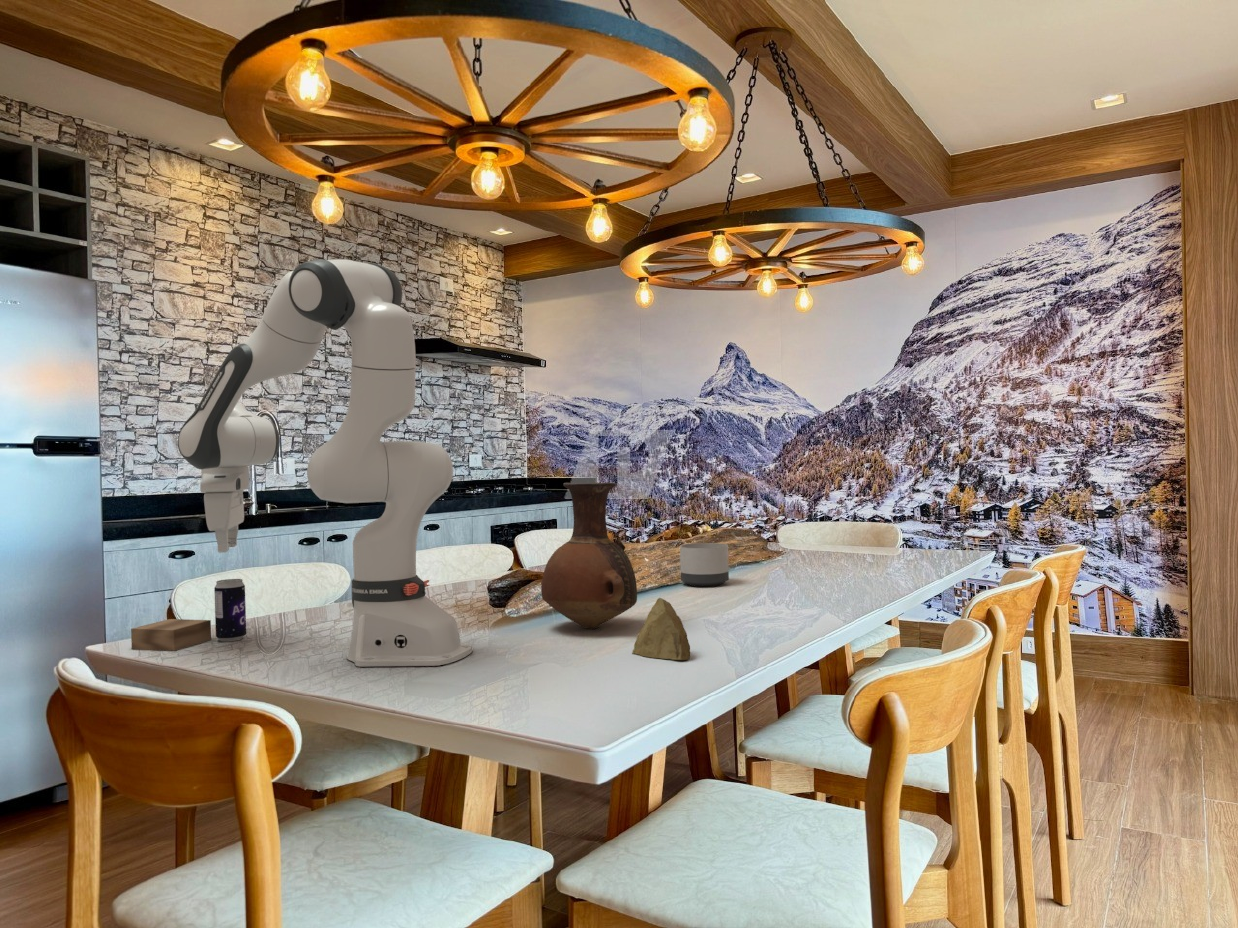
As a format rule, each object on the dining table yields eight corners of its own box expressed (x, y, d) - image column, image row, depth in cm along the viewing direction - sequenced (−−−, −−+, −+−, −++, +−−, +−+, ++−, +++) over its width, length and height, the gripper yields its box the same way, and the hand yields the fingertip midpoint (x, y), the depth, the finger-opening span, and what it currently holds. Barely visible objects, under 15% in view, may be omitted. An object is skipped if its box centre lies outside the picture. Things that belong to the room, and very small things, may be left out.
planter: (678, 588, 229) (677, 548, 229) (683, 580, 242) (682, 543, 241) (727, 588, 227) (726, 548, 227) (729, 580, 239) (728, 542, 239)
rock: (708, 646, 149) (688, 627, 159) (680, 610, 147) (662, 593, 156) (659, 688, 148) (642, 666, 157) (630, 651, 145) (615, 632, 155)
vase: (665, 629, 175) (661, 480, 175) (582, 644, 164) (577, 485, 164) (597, 613, 196) (593, 479, 195) (518, 625, 184) (515, 483, 184)
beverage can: (234, 642, 174) (233, 582, 174) (209, 642, 175) (207, 582, 175) (252, 636, 180) (250, 578, 180) (227, 636, 181) (226, 578, 181)
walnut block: (211, 639, 178) (210, 620, 177) (174, 650, 168) (173, 630, 168) (170, 638, 180) (169, 618, 180) (131, 649, 170) (131, 628, 170)
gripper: (218, 480, 186) (220, 544, 187) (198, 483, 166) (200, 556, 167) (250, 479, 188) (252, 543, 188) (233, 482, 168) (235, 554, 168)
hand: (227, 549), depth 177 cm, fingers open, 8 cm apart
